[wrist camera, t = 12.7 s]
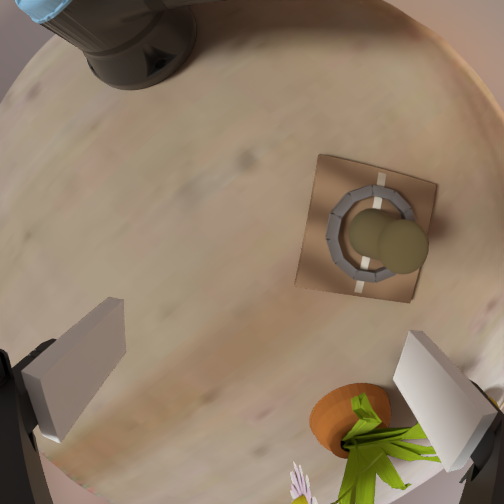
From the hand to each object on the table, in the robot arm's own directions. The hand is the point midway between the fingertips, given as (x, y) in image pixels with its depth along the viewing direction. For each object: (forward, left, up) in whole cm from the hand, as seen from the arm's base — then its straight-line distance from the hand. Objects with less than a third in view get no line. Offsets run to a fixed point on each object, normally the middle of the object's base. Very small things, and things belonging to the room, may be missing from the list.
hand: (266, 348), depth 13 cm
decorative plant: (+25, +20, -26) cm, 41 cm away
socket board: (-4, +13, -26) cm, 29 cm away
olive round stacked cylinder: (-4, +13, -25) cm, 28 cm away
